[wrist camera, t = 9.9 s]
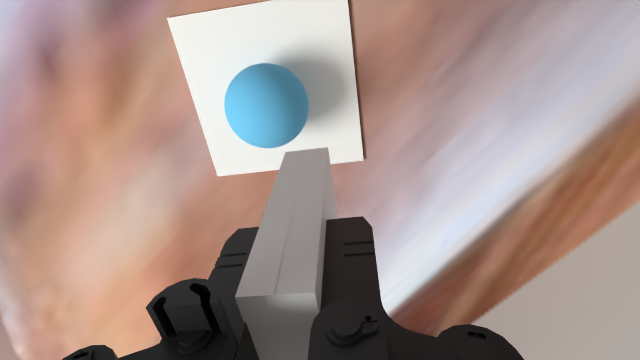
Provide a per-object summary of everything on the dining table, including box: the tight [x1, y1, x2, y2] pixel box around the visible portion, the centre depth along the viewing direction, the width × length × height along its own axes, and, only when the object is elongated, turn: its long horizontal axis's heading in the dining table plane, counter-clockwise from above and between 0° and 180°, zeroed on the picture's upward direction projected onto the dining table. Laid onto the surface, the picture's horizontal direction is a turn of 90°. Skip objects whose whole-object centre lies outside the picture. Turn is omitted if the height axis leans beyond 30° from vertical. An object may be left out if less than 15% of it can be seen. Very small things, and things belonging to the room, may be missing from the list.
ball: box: [224, 63, 309, 148], centre depth 23 cm, size 6×6×6 cm
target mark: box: [167, 0, 364, 176], centre depth 26 cm, size 12×12×1 cm
